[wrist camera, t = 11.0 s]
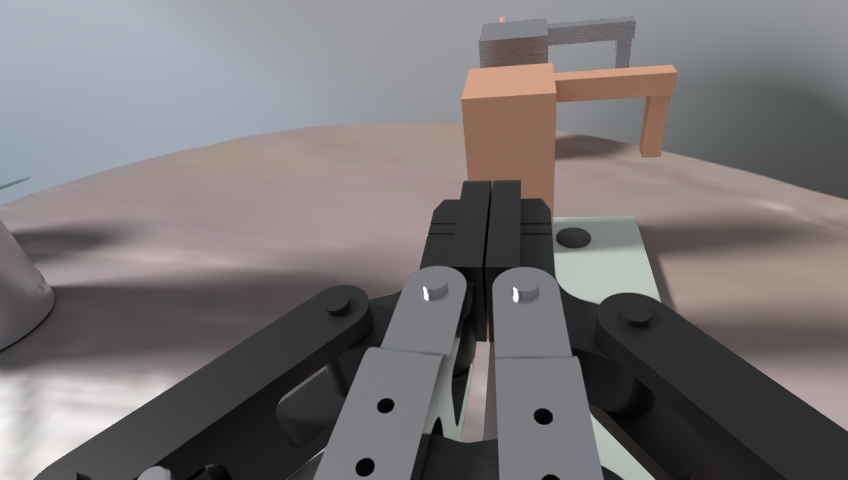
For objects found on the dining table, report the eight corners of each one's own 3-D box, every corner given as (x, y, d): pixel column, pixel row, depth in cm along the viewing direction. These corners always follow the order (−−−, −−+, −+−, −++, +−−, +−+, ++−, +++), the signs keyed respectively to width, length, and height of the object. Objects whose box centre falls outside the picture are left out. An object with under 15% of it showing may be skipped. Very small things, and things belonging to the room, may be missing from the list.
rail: (679, 577, 21) (804, 265, 12) (468, 552, 23) (419, 264, 13) (604, 226, 42) (626, 6, 32) (495, 227, 44) (484, 20, 34)
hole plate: (738, 584, 21) (745, 572, 20) (495, 555, 23) (494, 543, 22) (633, 226, 41) (635, 214, 41) (510, 227, 43) (509, 216, 43)
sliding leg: (640, 343, 29) (686, 84, 20) (481, 338, 31) (461, 99, 22) (628, 295, 32) (664, 54, 23) (486, 293, 34) (469, 69, 25)
